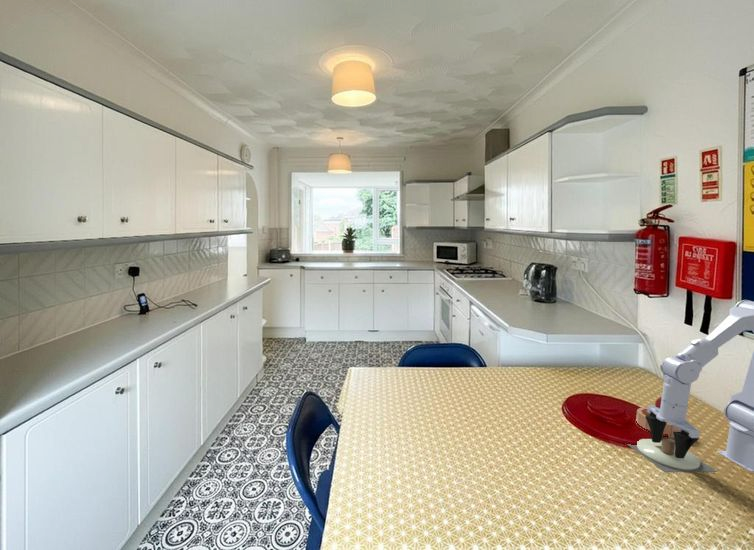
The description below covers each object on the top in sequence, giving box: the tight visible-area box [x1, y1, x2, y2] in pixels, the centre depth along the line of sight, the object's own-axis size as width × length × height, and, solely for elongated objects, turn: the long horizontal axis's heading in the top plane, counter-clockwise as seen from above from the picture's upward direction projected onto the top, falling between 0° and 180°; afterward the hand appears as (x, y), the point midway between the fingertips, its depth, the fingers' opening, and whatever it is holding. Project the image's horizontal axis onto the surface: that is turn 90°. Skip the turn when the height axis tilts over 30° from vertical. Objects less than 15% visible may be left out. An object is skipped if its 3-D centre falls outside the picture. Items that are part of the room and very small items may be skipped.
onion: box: [654, 396, 662, 408], centre depth 132 cm, size 6×6×8 cm
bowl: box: [635, 406, 681, 439], centre depth 122 cm, size 12×12×4 cm
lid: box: [636, 436, 700, 470], centre depth 106 cm, size 14×14×4 cm
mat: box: [626, 444, 718, 473], centre depth 106 cm, size 15×15×1 cm
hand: (667, 449), depth 106 cm, fingers open, 7 cm apart
